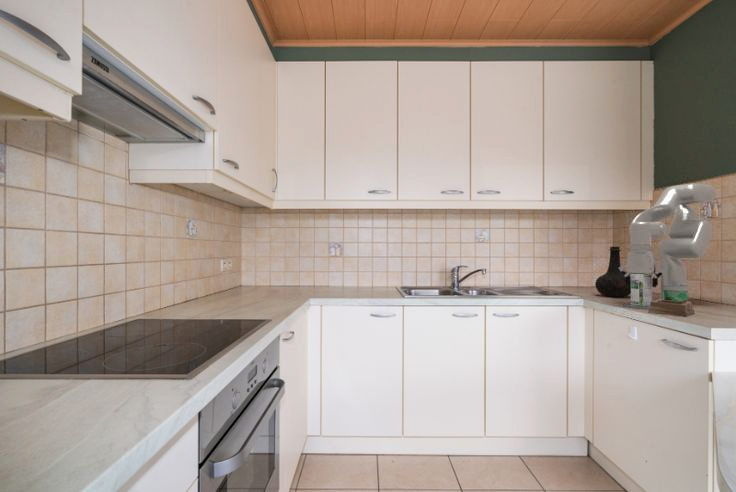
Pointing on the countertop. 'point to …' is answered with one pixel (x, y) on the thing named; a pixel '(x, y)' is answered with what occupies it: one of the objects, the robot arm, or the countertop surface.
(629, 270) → the robot arm
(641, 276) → the syrup box
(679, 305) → the socket
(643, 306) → the plate
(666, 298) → the food container
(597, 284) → the glass bottle
